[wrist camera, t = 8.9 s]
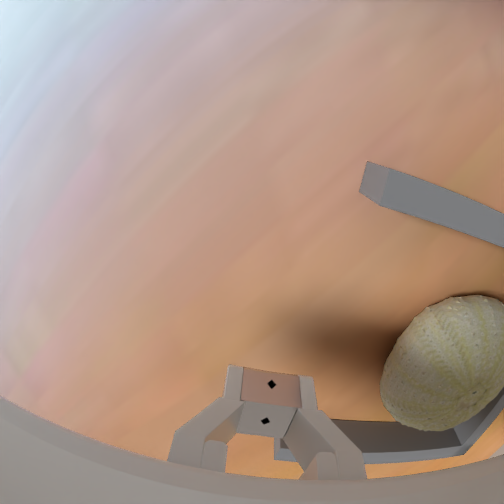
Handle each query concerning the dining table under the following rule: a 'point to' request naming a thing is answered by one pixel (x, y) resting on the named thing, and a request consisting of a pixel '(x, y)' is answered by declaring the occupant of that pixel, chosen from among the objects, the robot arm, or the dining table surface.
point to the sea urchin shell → (446, 364)
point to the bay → (455, 217)
